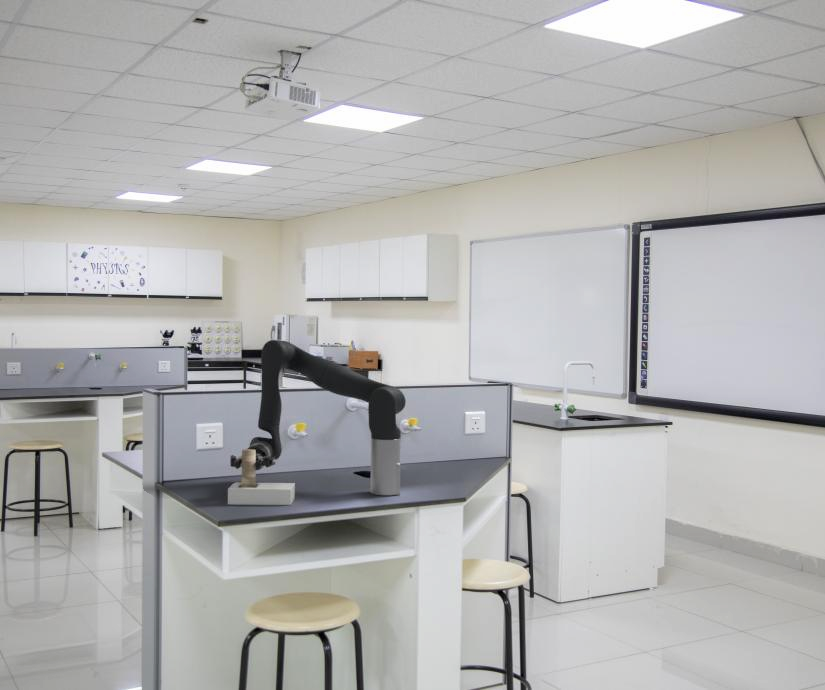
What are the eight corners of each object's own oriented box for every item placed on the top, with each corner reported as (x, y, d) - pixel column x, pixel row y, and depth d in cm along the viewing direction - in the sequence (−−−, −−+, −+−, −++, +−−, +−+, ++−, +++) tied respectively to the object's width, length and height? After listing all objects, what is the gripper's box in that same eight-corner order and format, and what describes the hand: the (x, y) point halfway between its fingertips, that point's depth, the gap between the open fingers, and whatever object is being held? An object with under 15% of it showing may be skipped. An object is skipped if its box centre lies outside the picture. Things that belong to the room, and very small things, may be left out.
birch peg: (256, 499, 250) (256, 449, 250) (253, 502, 246) (254, 451, 246) (242, 499, 250) (243, 449, 250) (240, 502, 246) (240, 451, 246)
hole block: (294, 498, 253) (294, 483, 253) (290, 505, 243) (290, 489, 243) (234, 497, 253) (234, 482, 253) (227, 504, 243) (227, 488, 243)
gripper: (233, 443, 262) (222, 452, 245) (280, 444, 262) (271, 452, 245) (233, 467, 262) (222, 477, 245) (279, 468, 262) (271, 478, 245)
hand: (247, 465), depth 245 cm, fingers open, 5 cm apart
